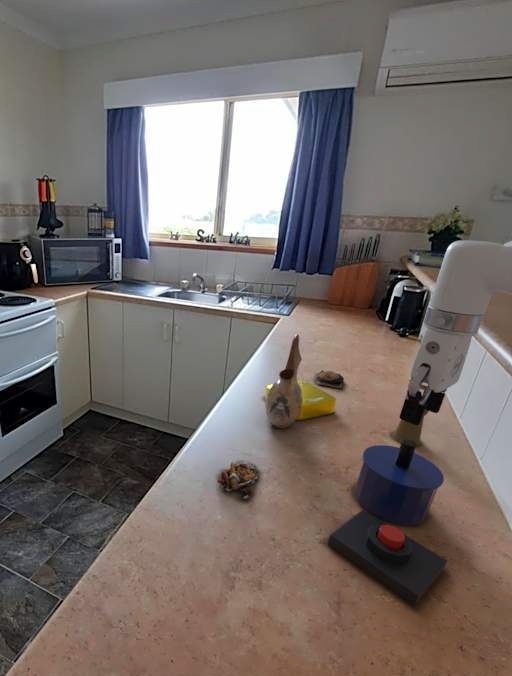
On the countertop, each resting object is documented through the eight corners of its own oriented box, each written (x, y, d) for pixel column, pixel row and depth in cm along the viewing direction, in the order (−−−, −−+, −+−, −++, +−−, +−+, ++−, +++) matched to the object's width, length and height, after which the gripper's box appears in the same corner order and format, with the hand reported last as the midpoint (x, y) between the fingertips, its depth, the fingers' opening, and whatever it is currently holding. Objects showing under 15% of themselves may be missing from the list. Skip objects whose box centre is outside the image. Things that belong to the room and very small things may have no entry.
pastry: (262, 469, 87) (264, 455, 86) (247, 501, 77) (250, 486, 76) (231, 459, 90) (233, 446, 89) (213, 489, 80) (215, 475, 79)
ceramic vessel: (269, 407, 115) (283, 324, 105) (301, 415, 111) (319, 329, 102) (255, 433, 101) (271, 340, 91) (291, 443, 98) (312, 347, 88)
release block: (443, 570, 64) (451, 552, 63) (413, 606, 58) (422, 587, 57) (359, 518, 75) (365, 501, 73) (327, 544, 68) (332, 526, 67)
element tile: (296, 421, 108) (299, 405, 106) (261, 398, 121) (264, 383, 119) (336, 412, 114) (340, 397, 112) (299, 391, 126) (302, 377, 125)
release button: (405, 543, 65) (408, 535, 64) (395, 553, 63) (398, 545, 62) (383, 529, 67) (386, 521, 67) (373, 538, 65) (375, 530, 65)
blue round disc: (453, 476, 75) (464, 448, 73) (423, 503, 67) (435, 474, 65) (381, 442, 85) (389, 417, 83) (348, 463, 77) (355, 436, 75)
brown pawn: (397, 443, 100) (410, 405, 96) (389, 431, 105) (401, 394, 101) (423, 447, 99) (437, 408, 95) (413, 434, 105) (426, 397, 100)
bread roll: (342, 390, 129) (345, 380, 128) (315, 384, 132) (317, 374, 131) (342, 378, 138) (345, 368, 137) (317, 373, 141) (319, 364, 140)
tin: (436, 508, 78) (450, 472, 75) (408, 535, 71) (422, 498, 68) (373, 474, 87) (383, 442, 84) (342, 496, 80) (352, 461, 77)
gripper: (458, 334, 57) (421, 439, 64) (496, 319, 67) (460, 412, 74) (404, 321, 62) (374, 419, 69) (446, 309, 72) (417, 396, 79)
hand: (419, 415), depth 71 cm, fingers open, 7 cm apart
